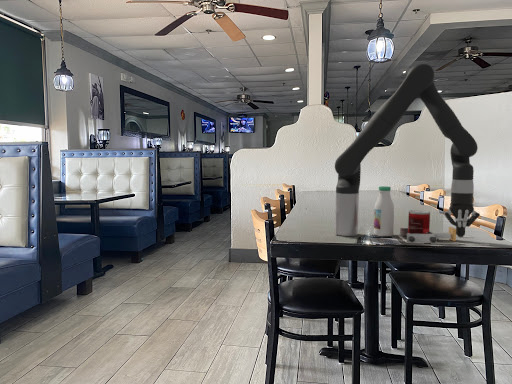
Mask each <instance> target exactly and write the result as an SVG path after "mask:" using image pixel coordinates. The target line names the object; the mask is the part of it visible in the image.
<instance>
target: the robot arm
mask: <svg viewBox="0 0 512 384" xmlns="http://www.w3.org/2000/svg"><path fill="white" fill-rule="evenodd" d="M434 79H435V70H434V69H433V67H432V66H431V65H429V64H428V63H418V64H416V65H414V66H412V67H411V68H410V69H409V70H408V72H407V73H406V76H405V78H404V79H403V81H402V82H401V84H400V85H399V87H398V88H397V89H396V90H395V92H394V93H393V94H392V95H391V96H390V97H389V98H388V99H387V100H386V101H385V102H384V103H382V105H381V106H380V107H379V108H378V109H377V110H376V111H375V112H374V114H373V115H372V116H371V117H370V118H369V120H368V121H367V122H366V124H365V125H364V126H363V128H362V129H361V131H360V132H359V134H358V135H357V136H356V137H355V139H354V140H353V142H352V143H351V144H350V145H349V146H348V147H347V148H346V149H345V150H344V151H343V152H342V153H341V154H340V155H339V156H337V159H336V160H335V163H334V170H335V172H336V174H337V184H336V186H335V210H334V233H335V235H336V236H343V237H345V236H346V237H355V236H358V235H359V207H360V206H359V203H360V187H361V173H362V172H361V171H362V169H361V167H362V165H361V163H362V162H363V161H364V159H365V158H366V157H367V155H368V154H369V153H370V152H371V151H372V150H373V149H374V148H375V147H377V146H378V145H379V144H380V143H381V142H382V141H384V140H385V138H386V137H387V136H388V135H389V134H390V133H391V132H392V130H393V129H394V128H395V127H396V126H397V124H398V123H399V122H400V121H401V119H402V118H403V116H404V115H405V113H406V112H407V110H408V109H409V107H411V105H412V104H413V102H415V100H417V98H418V97H419V99H420V100H421V101H422V103H423V104H424V106H425V107H426V108H427V110H428V112H429V113H430V115H431V117H432V119H433V120H434V122H435V124H436V126H437V128H438V129H439V130H440V132H441V133H442V135H443V137H445V138H447V139H449V141H451V143H452V144H451V147H450V153H449V154H450V160H451V161H450V162H451V165H452V178H451V179H452V180H451V185H450V186H451V187H450V206H449V208H448V210H446V211H443V212H442V214H443V215H444V217H445V218H446V219H447V220H448V222H449V224H450V225H452V226H455V229H456V236H458V237H457V238H464V237H463V236H465V235H466V227H470V226H471V225H472V224H474V223H475V221H476V220H477V219H478V218H479V217H480V215H481V214H480V212H477V211H476V210H475V208H474V186H475V185H474V166H473V165H472V164H471V163H470V158H471V157H473V156H474V155H476V153H478V147H479V146H478V143H477V141H476V140H475V138H474V137H473V136H472V135H471V133H469V131H468V130H467V129H465V128H464V126H463V125H462V122H461V121H460V119H459V118H458V116H457V115H456V114H455V112H454V110H453V109H452V107H450V106H449V104H448V103H447V102H446V101H445V99H444V98H443V97H442V96H441V94H440V92H439V91H438V90H437V87H436V86H435V83H434ZM452 216H453V217H454V219H453V217H452Z"/></svg>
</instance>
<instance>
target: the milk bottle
mask: <svg viewBox="0 0 512 384" xmlns="http://www.w3.org/2000/svg"><path fill="white" fill-rule="evenodd" d="M378 192H379V193H378V197H377V199H376V200H375V204H374V209H373V210H374V211H373V212H374V213H373V234H374V235H375V236H380V237H392V236H393V235H394V228H395V227H394V223H395V221H394V219H395V206H394V202H393V200H392V197H391V186H388V185H387V186H378Z"/></svg>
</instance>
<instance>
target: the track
mask: <svg viewBox="0 0 512 384" xmlns="http://www.w3.org/2000/svg"><path fill="white" fill-rule="evenodd" d="M397 236H398V237H399V238H400V239H401V240H402V241H403V242H404V241H405V242H404V243H406V244H424V243H431V245H432V244H433V245H458V244H465V246H490V244H489V243H465V242H464V243H462V242H460V243H459V242H457V243H456V242H455V243H454V242H437V243H436V242H434V243H433V242H407V238H405V237H404V236H401V235H399V234H397ZM456 238H459V237H458V236H457V235H456ZM462 238H465V239H466V238H470V239H471V238H472V239H474V236H465V235H463V237H462Z"/></svg>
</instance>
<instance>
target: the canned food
mask: <svg viewBox="0 0 512 384" xmlns="http://www.w3.org/2000/svg"><path fill="white" fill-rule="evenodd" d="M407 221H408V224H407V225H408V226H407V228H408V233H419V234H429V230H430V226H431V225H430V224H431V223H430V222H431V212H430V210H420V209H418V210H417V209H412V210H408V220H407Z"/></svg>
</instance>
